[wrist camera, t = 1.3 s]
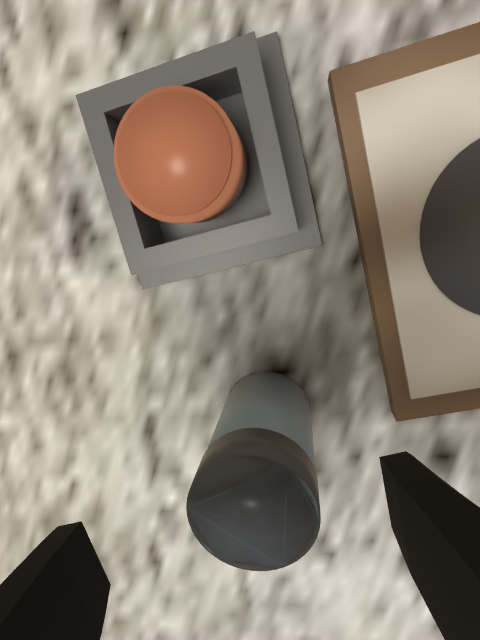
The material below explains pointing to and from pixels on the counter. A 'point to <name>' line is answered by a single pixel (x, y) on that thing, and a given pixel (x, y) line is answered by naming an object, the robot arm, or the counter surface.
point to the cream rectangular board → (418, 213)
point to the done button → (179, 156)
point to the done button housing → (262, 164)
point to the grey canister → (258, 477)
